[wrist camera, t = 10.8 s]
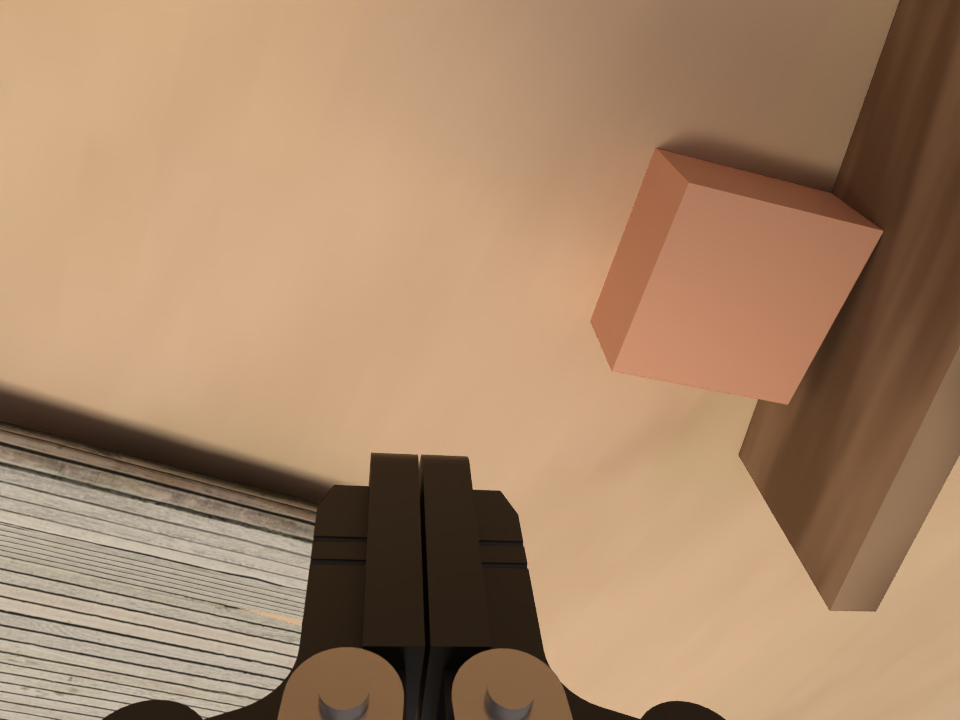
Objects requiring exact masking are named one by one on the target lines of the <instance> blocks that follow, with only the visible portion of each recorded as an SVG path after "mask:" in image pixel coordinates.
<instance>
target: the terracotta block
mask: <svg viewBox="0 0 960 720" xmlns="http://www.w3.org/2000/svg"><path fill="white" fill-rule="evenodd" d="M882 233H883V230H882V229H880V228H879V227H878V226H876V225H875V224H873V223H872V222H871V221H869V220H868V219H866V218H865V217H864V216H862V215H861V214H860V213H858V212H857V211H855V210H854V209H853V208H851V207H850V206H848V205H847V204H846V203H844V202H843V201H842V200H840V199H839V198H837V197H836V196H835V195H833V194H832V193H830V192H826V191H822V190H818V189H814V188H810V187H806V186H802V185H798V184H794V183H791V182H787V181H783V180H779V179H775V178H771V177H767V176H763V175H759V174H755V173H751V172H747V171H744V170H740V169H736V168H732V167H728V166H724V165H720V164H716V163H712V162H708V161H704V160H700V159H697V158H693V157H689V156H685V155H681V154H677V153H673V152H669V151H665V150H661V149H657V148H656V149H655V151H654V154H653V157H652V159H651V162H650V165H649V167H648V170H647V173H646V175H645V178H644V180H643V183H642V186H641V188H640V191H639V194H638V196H637V199H636V202H635V204H634V207H633V210H632V212H631V215H630V217H629V220H628V223H627V225H626V228H625V231H624V233H623V236H622V239H621V241H620V244H619V247H618V249H617V252H616V254H615V257H614V260H613V262H612V265H611V268H610V270H609V273H608V276H607V278H606V281H605V284H604V286H603V289H602V292H601V294H600V297H599V299H598V302H597V305H596V307H595V310H594V313H593V315H592V318H591V324H592V326H593V328H594V331H595V333H596V335H597V338H598V340H599V342H600V345H601V347H602V349H603V352H604V354H605V356H606V359H607V361H608V363H609V366H610V368H611V370H612V371H613V372H618V373H624V374H629V375H634V376H640V377H645V378H650V379H655V380H661V381H666V382H671V383H676V384H682V385H687V386H692V387H697V388H703V389H708V390H713V391H718V392H724V393H729V394H734V395H739V396H745V397H750V398H755V399H760V400H766V401H771V402H776V403H781V404H787V405H788V404H789V402H790V400H791V398H792V396H793V395H794V393H795V391H796V389H797V387H798V386H799V384H800V382H801V380H802V378H803V376H804V375H805V373H806V371H807V369H808V367H809V366H810V364H811V362H812V360H813V358H814V357H815V355H816V353H817V351H818V349H819V347H820V346H821V344H822V342H823V340H824V338H825V337H826V335H827V333H828V331H829V329H830V328H831V326H832V324H833V322H834V320H835V318H836V317H837V315H838V313H839V311H840V309H841V308H842V306H843V304H844V302H845V300H846V298H847V297H848V295H849V293H850V291H851V289H852V288H853V286H854V284H855V282H856V280H857V279H858V277H859V275H860V273H861V271H862V269H863V268H864V266H865V264H866V262H867V260H868V259H869V257H870V255H871V253H872V251H873V250H874V248H875V246H876V244H877V242H878V240H879V239H880V237H881V235H882Z"/></svg>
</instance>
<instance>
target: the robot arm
mask: <svg viewBox="0 0 960 720" xmlns="http://www.w3.org/2000/svg"><path fill="white" fill-rule="evenodd" d="M102 720H725V719H724V718H723V717H721V716H720V715H718V714H717V713H715V712H713V711H712V710H710V709H708V708H705V707H703V706H700V705H698V704H694V703H690V702H683V701H669V702H665V703H661V704H659V705H656V706H654V707H652V708H651V709H650V710H648V711H647V712H646V713H645V714H644V716H643V717H642V718H641V719H638V718H635V717H631V716H628V715H625V714H622V713H618V712H615V711H612V710H609V709H605V708H602V707H599V706H597V705H594V704H591V703H589V702H587V701H585V700H583V699H581V698H580V697H578V696H577V695H575V694H574V693H572V692H571V691H570V690H569V689H568V688H566V687H565V686H564V685H563V684H562V683H561V682H560V680H559V679H558V677H557V675H556V674H555V673H554V672H553V671H552V669H551V668H550V666H549V664H548V662H547V660H546V657H545V653H544V650H543V644H542V639H541V634H540V628H539V623H538V618H537V613H536V607H535V602H534V597H533V591H532V586H531V581H530V575H529V570H528V569H527V559H526V554H525V549H524V547H523V538H522V533H521V528H520V522H519V517H518V514H517V512H516V511H515V510H514V508H513V507H512V506H511V504H510V503H509V502H508V500H507V499H506V498H505V496H504V495H503V494H502V492H501V491H489V490H473V488H472V480H471V472H470V464H469V459H468V457H465V456H441V455H421V458H420V465H419V462H418V455H413V454H389V453H371V461H370V476H369V486H345V485H334V486H333V487H332V489H331V490H330V492H329V493H328V494H327V496H326V497H325V498H324V500H323V501H322V502H321V504H320V505H319V506H318V508H317V512H316V520H315V528H314V536H313V544H312V551H311V561H310V567H309V575H308V583H307V590H306V598H305V606H304V614H303V622H302V629H301V637H300V645H299V651H298V656H297V659H296V661H295V664H294V666H293V668H292V670H291V671H290V673H289V674H288V676H287V677H286V678H285V680H284V681H283V682H282V683H281V684H280V685H279V686H278V687H277V688H276V689H275V690H274V691H272V692H271V693H270V694H268V695H267V696H265V697H264V698H262V699H260V700H258V701H256V702H254V703H253V704H250V705H248V706H245V707H242V708H239V709H236V710H233V711H230V712H226V713H223V714H220V715H216V716H213V717H210V718H206V719H202V717H201V716H200V715H199V714H198V713H197V712H196V711H194V710H193V709H191V708H190V707H188V706H186V705H184V704H181V703H179V702H175V701H170V700H146V701H141V702H137V703H133V704H130V705H128V706H125V707H122V708H120V709H118V710H116V711H114V712H113V713H111V714H109V715H108V716H106V717H105V718H103V719H102Z"/></svg>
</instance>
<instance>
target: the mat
mask: <svg viewBox="0 0 960 720" xmlns="http://www.w3.org/2000/svg"><path fill="white" fill-rule="evenodd" d="M319 505H320V504H317V503H314V502H310V501H307V500H304V499H300V498H297V497H294V496H290V495H286V494H281V493H277V492H272V491H268V490H264V489H260V488H255V487H251V486H247V485H243V484H239V483H235V482H231V481H227V480H222V479H218V478H214V477H210V476H207V475H203V474H199V473H195V472H191V471H187V470H183V469H179V468H175V467H171V466H167V465H163V464H159V463H155V462H152V461H148V460H144V459H140V458H136V457H132V456H128V455H125V454H121V453H118V452H114V451H111V450H107V449H104V448H100V447H97V446H93V445H90V444H86V443H83V442H79V441H76V440H72V439H69V438H65V437H60V436H56V435H52V434H48V433H44V432H40V431H36V430H32V429H28V428H24V427H20V426H17V425H13V424H9V423H5V422H1V421H0V720H102V719H103V718H105V717H106V716H108V715H109V714H111V713H113V712H114V711H116V710H118V709H120V708H122V707H125V706H128V705H130V704H133V703H137V702H141V701H146V700H170V701H175V702H179V703H181V704H184V705H186V706H188V707H190V708H191V709H193V710H194V711H196V712H197V713H198V714H199V715H200V716H201V717H202V719H206V718H210V717H213V716H216V715H220V714H223V713H226V712H230V711H233V710H236V709H239V708H242V707H245V706H248V705H250V704H253V703H254V702H256V701H258V700H260V699H262V698H264V697H265V696H267V695H268V694H270V693H271V692H272V691H274V690H275V689H276V688H277V687H278V686H279V685H280V684H281V683H282V682H283V681H284V680H285V678H286V677H287V676H288V674H289V673H290V671H291V670H292V668H293V666H294V664H295V661H296V659H297V656H298V651H299V645H300V637H301V629H302V626H299V625H295V624H292V623H288V622H285V621H282V620H278V619H275V618H271V617H268V616H265V615H261V614H257V613H254V612H250V611H247V610H243V609H249V610H255V611H260V612H266V613H271V614H276V615H281V616H286V617H291V618H296V619H301V620H303V614H304V606H305V598H306V590H307V583H308V575H309V567H310V561H311V551H312V544H313V536H314V528H315V520H316V512H317V508H318V506H319ZM237 607H238V608H237ZM240 608H243V609H240Z"/></svg>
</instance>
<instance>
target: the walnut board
mask: <svg viewBox="0 0 960 720" xmlns="http://www.w3.org/2000/svg"><path fill="white" fill-rule="evenodd" d="M832 194H833V195H835V196H836V197H837V198H839V199H840V200H842V201H843V202H844V203H846V204H847V205H848V206H850V207H851V208H853V209H854V210H855V211H857V212H858V213H860V214H861V215H862V216H864V217H865V218H866V219H868V220H869V221H871V222H872V223H873V224H875V225H876V226H878V227H879V228H880V229H882V230H883V233H882V235H881V237H880V239H879V240H878V242H877V244H876V246H875V248H874V250H873V251H872V253H871V255H870V257H869V259H868V260H867V262H866V264H865V266H864V268H863V269H862V271H861V273H860V275H859V277H858V279H857V280H856V282H855V284H854V286H853V288H852V289H851V291H850V293H849V295H848V297H847V298H846V300H845V302H844V304H843V306H842V308H841V309H840V311H839V313H838V315H837V317H836V318H835V320H834V322H833V324H832V326H831V328H830V329H829V331H828V333H827V335H826V337H825V338H824V340H823V342H822V344H821V346H820V347H819V349H818V351H817V353H816V355H815V357H814V358H813V360H812V362H811V364H810V366H809V367H808V369H807V371H806V373H805V375H804V376H803V378H802V380H801V382H800V384H799V386H798V387H797V389H796V391H795V393H794V395H793V396H792V398H791V400H790V402H789V404H788V405H787V404H781V403H776V402H771V401H766V400H760V399H759V400H758V402H757V405H756V408H755V411H754V414H753V417H752V419H751V422H750V425H749V428H748V431H747V433H746V436H745V439H744V442H743V445H742V447H741V450H740V453H739V457H740V459H741V460H742V462H743V464H744V465H745V467H746V469H747V471H748V472H749V474H750V476H751V477H752V479H753V481H754V482H755V484H756V486H757V488H758V489H759V491H760V493H761V494H762V496H763V498H764V500H765V501H766V503H767V505H768V506H769V508H770V510H771V511H772V513H773V515H774V517H775V518H776V520H777V522H778V523H779V525H780V527H781V529H782V530H783V532H784V534H785V535H786V537H787V539H788V540H789V542H790V544H791V546H792V547H793V549H794V551H795V552H796V554H797V556H798V558H799V559H800V561H801V563H802V564H803V566H804V568H805V569H806V571H807V573H808V575H809V576H810V578H811V580H812V581H813V583H814V585H815V586H816V588H817V590H818V592H819V593H820V595H821V597H822V598H823V600H824V602H825V604H826V605H827V607H828V609H829V610H830V611H876V610H877V609H878V607H879V605H880V603H881V601H882V599H883V597H884V595H885V594H886V592H887V590H888V588H889V586H890V584H891V582H892V581H893V579H894V577H895V575H896V573H897V571H898V569H899V567H900V566H901V564H902V562H903V560H904V558H905V556H906V554H907V552H908V551H909V549H910V547H911V545H912V543H913V541H914V539H915V538H916V536H917V534H918V532H919V530H920V528H921V526H922V524H923V523H924V521H925V519H926V517H927V515H928V513H929V511H930V509H931V508H932V506H933V504H934V502H935V500H936V498H937V496H938V494H939V493H940V491H941V489H942V487H943V485H944V483H945V481H946V480H947V478H948V476H949V474H950V472H951V470H952V468H953V466H954V465H955V463H956V461H957V459H958V457H959V455H960V0H900V3H899V5H898V8H897V11H896V14H895V17H894V20H893V22H892V25H891V28H890V31H889V34H888V36H887V39H886V42H885V45H884V48H883V50H882V53H881V56H880V59H879V62H878V65H877V67H876V70H875V73H874V76H873V79H872V81H871V84H870V87H869V90H868V93H867V96H866V98H865V101H864V104H863V107H862V110H861V112H860V115H859V118H858V121H857V124H856V126H855V129H854V132H853V135H852V138H851V141H850V143H849V146H848V149H847V152H846V155H845V157H844V160H843V163H842V166H841V169H840V172H839V174H838V177H837V180H836V183H835V186H834V188H833V191H832Z"/></svg>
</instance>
